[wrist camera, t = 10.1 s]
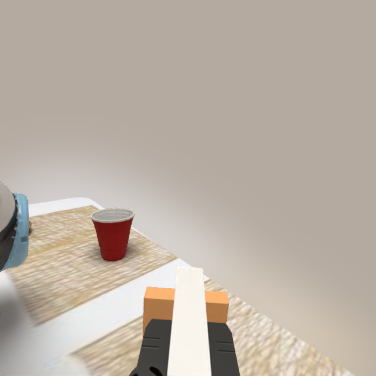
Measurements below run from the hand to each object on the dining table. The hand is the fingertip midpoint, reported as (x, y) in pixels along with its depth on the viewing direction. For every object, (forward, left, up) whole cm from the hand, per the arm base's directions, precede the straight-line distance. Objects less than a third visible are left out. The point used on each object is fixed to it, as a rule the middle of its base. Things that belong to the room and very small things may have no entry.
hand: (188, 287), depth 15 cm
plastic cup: (-41, +25, -26) cm, 55 cm away
